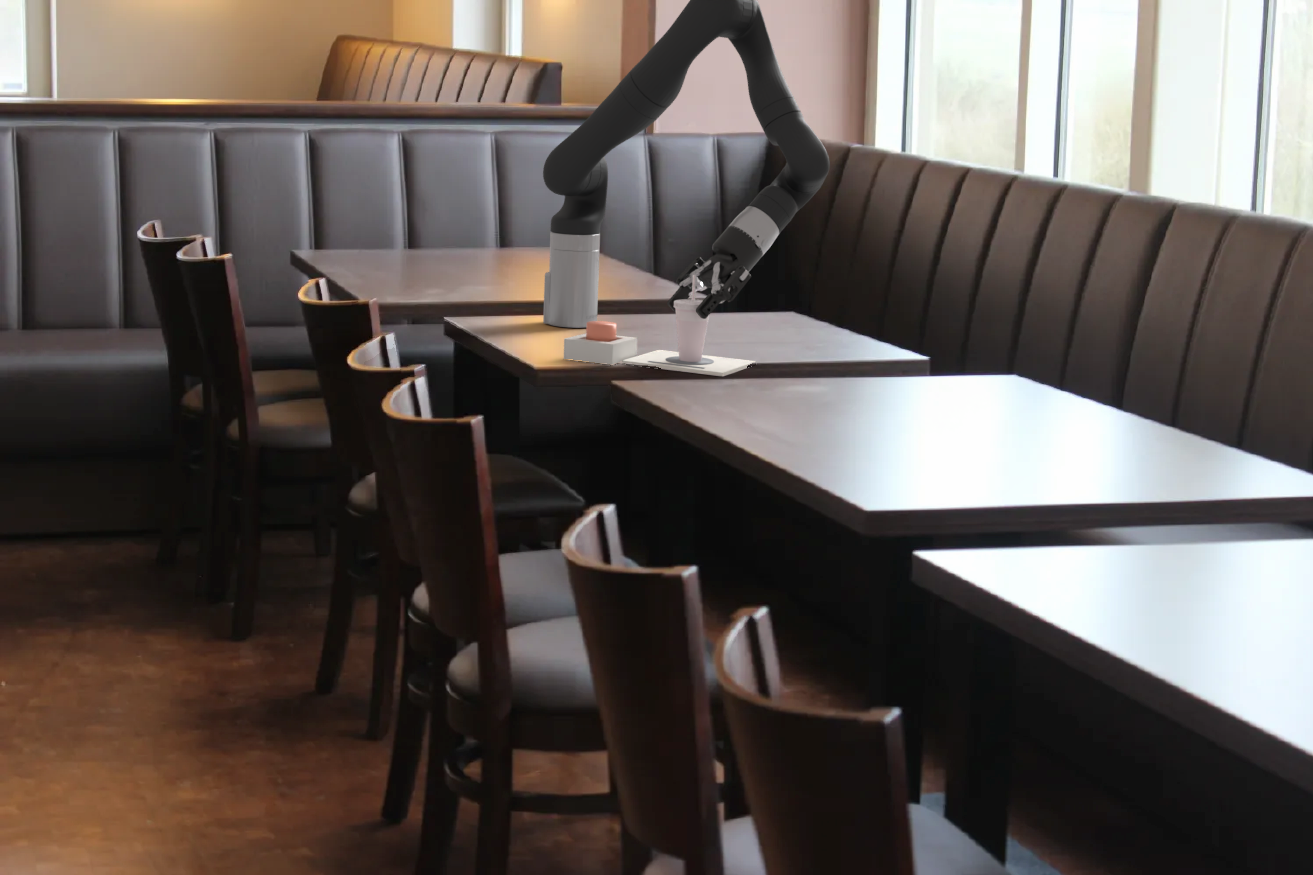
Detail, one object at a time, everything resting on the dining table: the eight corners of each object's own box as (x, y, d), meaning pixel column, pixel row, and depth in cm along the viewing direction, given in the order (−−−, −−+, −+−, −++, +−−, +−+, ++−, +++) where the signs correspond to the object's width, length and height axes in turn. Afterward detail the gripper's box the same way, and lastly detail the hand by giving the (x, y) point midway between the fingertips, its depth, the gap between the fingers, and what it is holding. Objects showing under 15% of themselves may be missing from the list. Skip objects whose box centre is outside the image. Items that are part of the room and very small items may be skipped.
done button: (580, 344, 281) (581, 323, 281) (594, 340, 286) (595, 320, 285) (607, 347, 279) (608, 326, 279) (621, 344, 284) (622, 323, 283)
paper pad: (621, 364, 279) (622, 359, 279) (658, 353, 292) (658, 349, 292) (722, 376, 272) (722, 372, 272) (756, 364, 284) (756, 360, 284)
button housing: (563, 359, 281) (564, 338, 280) (589, 352, 289) (589, 332, 288) (612, 365, 277) (613, 344, 277) (636, 358, 285) (637, 337, 284)
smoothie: (710, 358, 285) (714, 274, 282) (708, 364, 278) (712, 278, 276) (672, 355, 285) (676, 272, 282) (669, 361, 279) (673, 276, 276)
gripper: (709, 220, 287) (648, 290, 283) (759, 228, 275) (696, 301, 271) (733, 251, 291) (674, 320, 287) (783, 261, 279) (722, 333, 275)
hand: (685, 311), depth 279 cm, fingers open, 8 cm apart
